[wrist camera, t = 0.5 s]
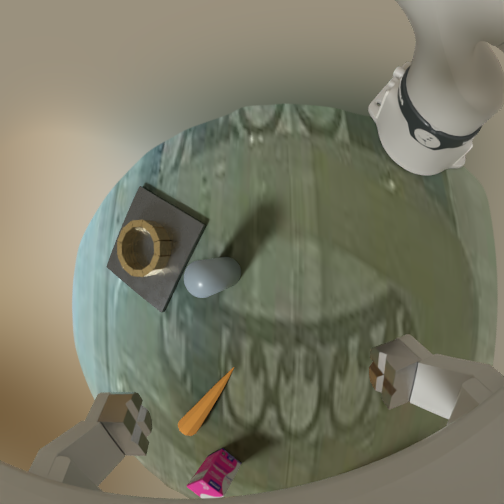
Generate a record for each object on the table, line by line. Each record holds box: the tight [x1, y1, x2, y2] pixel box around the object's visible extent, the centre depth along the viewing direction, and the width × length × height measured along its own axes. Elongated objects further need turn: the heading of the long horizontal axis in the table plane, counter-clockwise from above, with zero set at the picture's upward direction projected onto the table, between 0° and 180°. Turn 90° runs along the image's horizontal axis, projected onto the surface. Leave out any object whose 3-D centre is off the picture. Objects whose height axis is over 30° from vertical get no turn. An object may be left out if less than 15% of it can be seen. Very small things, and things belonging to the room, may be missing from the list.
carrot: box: [178, 368, 234, 436], centre depth 48 cm, size 20×4×4 cm, turn 148°
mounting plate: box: [107, 186, 206, 312], centre depth 50 cm, size 18×16×1 cm
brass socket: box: [117, 220, 171, 277], centre depth 48 cm, size 10×10×4 cm
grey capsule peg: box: [184, 257, 241, 298], centre depth 42 cm, size 5×5×10 cm
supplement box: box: [187, 448, 241, 499], centre depth 43 cm, size 6×6×12 cm
